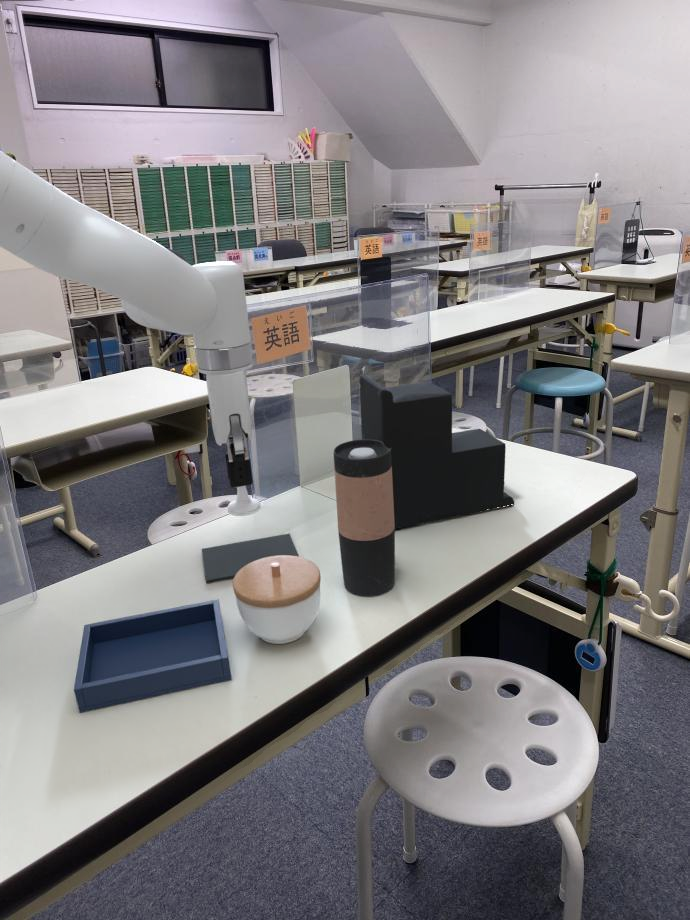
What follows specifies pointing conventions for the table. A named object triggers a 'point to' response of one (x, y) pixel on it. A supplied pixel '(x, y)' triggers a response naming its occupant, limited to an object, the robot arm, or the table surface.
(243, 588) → the trinket box
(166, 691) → the tray
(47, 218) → the robot arm
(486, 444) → the bookend
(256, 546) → the mat
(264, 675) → the table surface
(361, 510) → the travel mug
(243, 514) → the chess piece
